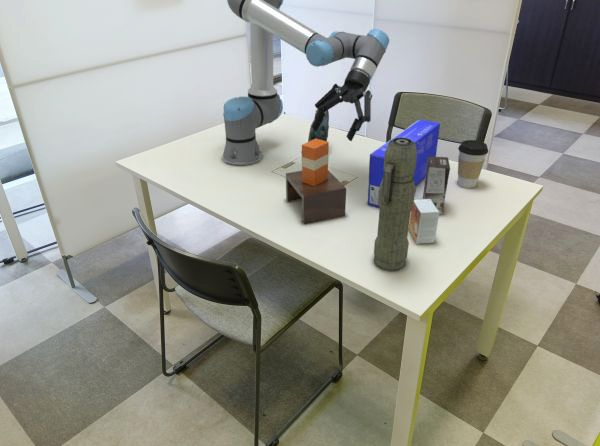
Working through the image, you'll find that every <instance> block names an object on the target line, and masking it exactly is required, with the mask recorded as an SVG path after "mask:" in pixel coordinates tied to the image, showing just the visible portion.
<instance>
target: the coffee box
mask: <svg viewBox="0 0 600 446" xmlns="http://www.w3.org/2000/svg"><path fill="white" fill-rule="evenodd" d="M450 171H451V165H450V160H449V157H447V156H436V157H429V156H428V162H427V169H426V177H425V178H424V186H423V193H422V199H431V200H432V202H433V204H434V205H435V207H436V208H437V210H438V211H439V212H440V213H439V215H443V213H444V212H443V211H444V205H445V200H446V194H447V188H448V182H449V178H450Z"/></svg>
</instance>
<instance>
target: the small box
mask: <svg viewBox="0 0 600 446" xmlns="http://www.w3.org/2000/svg"><path fill="white" fill-rule="evenodd" d="M439 213H440V212H439V211H438V210H437V208H436V207H435V205H434V204H433V202H432V200H431V199H423V198H420V199H414V204H413V209H412V210H411V213H410V221H409V229H408V232H409V233H410V234H411V237H412V239H413V240H414V243H415V244H416V245H418V244H419V245H420V244H434V243H435V241H436V236H437V229H438V223H439V218H440V214H439Z"/></svg>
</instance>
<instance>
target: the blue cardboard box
mask: <svg viewBox="0 0 600 446" xmlns="http://www.w3.org/2000/svg"><path fill="white" fill-rule="evenodd" d="M440 127H441V123H440V122H437V121H431V120H425V119H418V120H416V121H415V122H414V123H412V124H411V125H409V126H408V127H406V128H405V129H404V130H402V131H401V132H400V133H398V134H397V135H395V136H394V137H392V138H391V139H390V140H392V139H395V138H408V139H410V140H412V141H414V143H415V146H416V150H417V159H416V167H415V174H414V184H415V187H416V186H417V185H418V184H419V183H420V182H421V181H422V180H425V177H426V169H427V162H428V156H429V157H437V151H438V143H439V134H440ZM390 140H388V141H386V142H385V143H384V144H382V145H381V146H379V148H377V149H375V150H374V151H373V152H371V153H370V154H369V161H368V162H369V163H368V189H367V205H368V206H372V207H376V208H378V209H380V208H379V205H378V200H379V187H380V184H381V182H382V180H383V174H384V158H385V151H386V148H387V146H388V144H389V142H390Z"/></svg>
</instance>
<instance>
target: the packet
mask: <svg viewBox="0 0 600 446" xmlns="http://www.w3.org/2000/svg"><path fill="white" fill-rule="evenodd" d="M329 145H330V143H329V141H328V140H327V141H323V140H320V139H313V140H311V141H309V142H308V141H307V142H305V143H302V144H301V171H302V182H303V183H306V184H309V185H312V186H316V185H318V184H319V183H321V182H323V181H325V180H326V179H328V170H329V155H330V154H329Z"/></svg>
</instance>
